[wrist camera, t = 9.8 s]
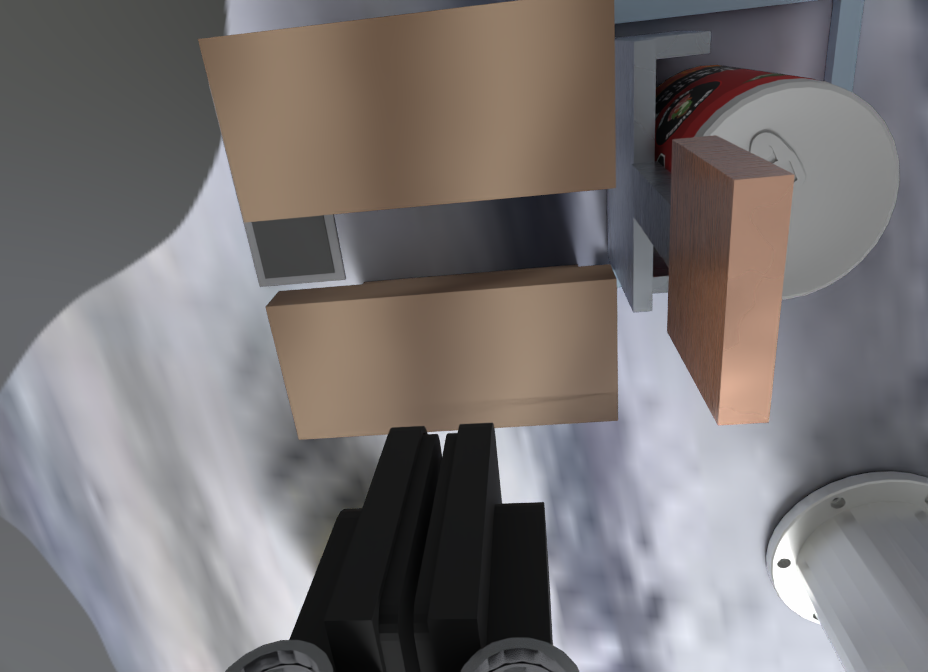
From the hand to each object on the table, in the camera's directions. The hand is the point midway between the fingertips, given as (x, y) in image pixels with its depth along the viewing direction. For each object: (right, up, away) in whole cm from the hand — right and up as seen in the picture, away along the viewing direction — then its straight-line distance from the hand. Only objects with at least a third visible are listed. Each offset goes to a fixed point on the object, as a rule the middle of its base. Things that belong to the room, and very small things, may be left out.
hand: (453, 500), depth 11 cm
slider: (+9, +12, +22) cm, 27 cm away
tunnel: (0, +11, +23) cm, 26 cm away
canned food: (+12, +12, +22) cm, 28 cm away
